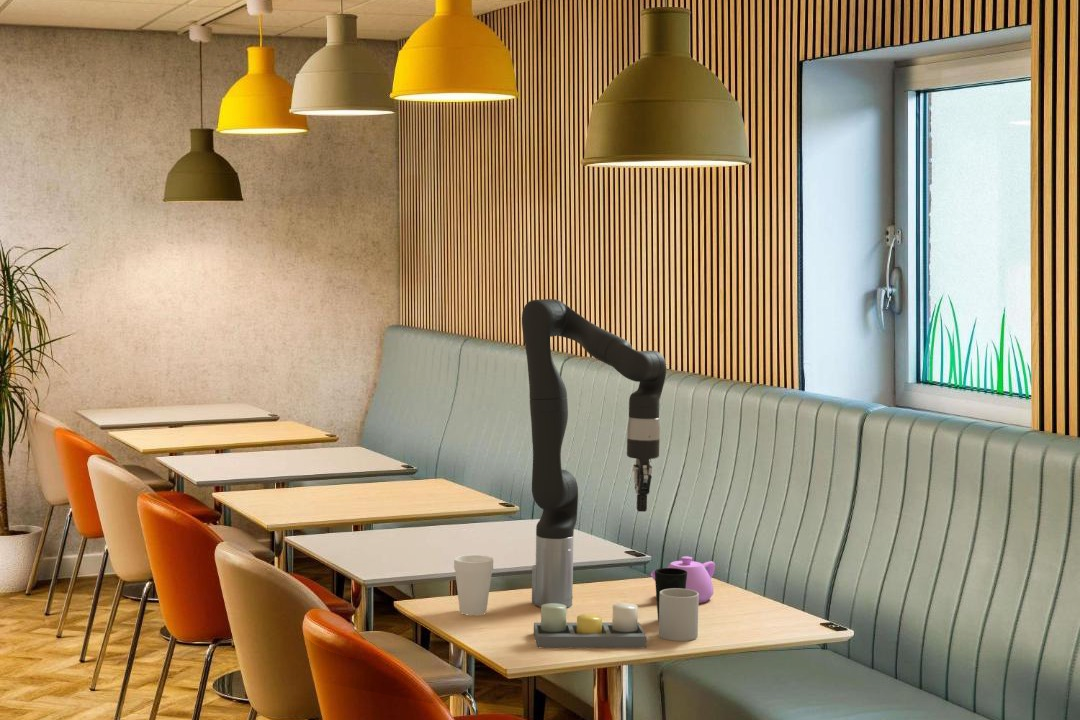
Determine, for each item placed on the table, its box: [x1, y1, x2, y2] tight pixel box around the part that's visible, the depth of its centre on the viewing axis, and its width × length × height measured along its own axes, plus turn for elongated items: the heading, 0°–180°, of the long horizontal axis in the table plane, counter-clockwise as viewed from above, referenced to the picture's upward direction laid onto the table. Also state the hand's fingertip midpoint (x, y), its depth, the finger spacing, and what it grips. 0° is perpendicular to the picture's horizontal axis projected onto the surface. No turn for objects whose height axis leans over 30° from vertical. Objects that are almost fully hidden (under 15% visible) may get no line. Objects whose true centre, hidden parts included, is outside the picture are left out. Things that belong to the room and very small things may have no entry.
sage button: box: [540, 603, 567, 632], centre depth 305 cm, size 6×6×5 cm
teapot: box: [650, 555, 716, 604], centre depth 346 cm, size 14×20×11 cm
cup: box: [654, 567, 687, 623], centre depth 323 cm, size 8×8×12 cm
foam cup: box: [453, 554, 494, 616], centre depth 329 cm, size 10×9×13 cm
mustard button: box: [576, 613, 603, 634], centre depth 305 cm, size 6×6×5 cm
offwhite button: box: [612, 602, 639, 632], centre depth 306 cm, size 6×6×5 cm
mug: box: [658, 588, 700, 642], centre depth 311 cm, size 11×10×10 cm
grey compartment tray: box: [533, 621, 647, 649], centre depth 305 cm, size 24×12×2 cm, turn 94°
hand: (641, 510), depth 318 cm, fingers closed
